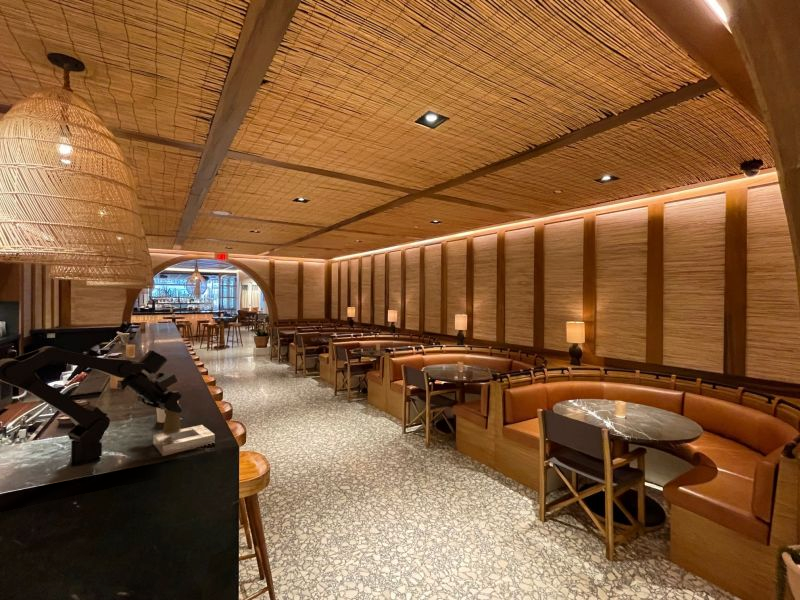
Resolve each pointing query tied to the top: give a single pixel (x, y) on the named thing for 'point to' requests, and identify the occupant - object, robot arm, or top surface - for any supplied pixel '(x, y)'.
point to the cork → (171, 421)
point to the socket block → (183, 439)
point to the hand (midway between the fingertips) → (176, 410)
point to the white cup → (161, 415)
